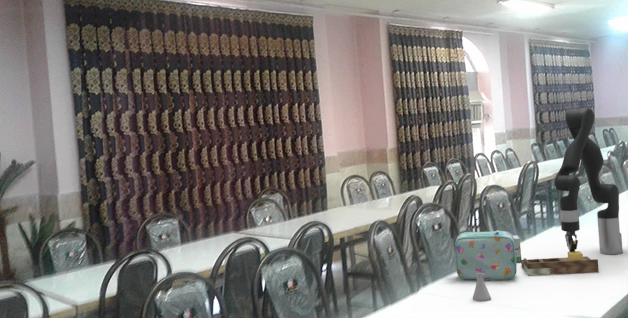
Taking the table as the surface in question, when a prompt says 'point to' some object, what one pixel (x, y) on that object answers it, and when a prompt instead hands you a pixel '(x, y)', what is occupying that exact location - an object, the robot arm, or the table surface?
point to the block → (575, 256)
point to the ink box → (517, 248)
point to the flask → (481, 289)
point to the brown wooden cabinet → (559, 266)
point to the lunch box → (486, 255)
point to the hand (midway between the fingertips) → (572, 257)
